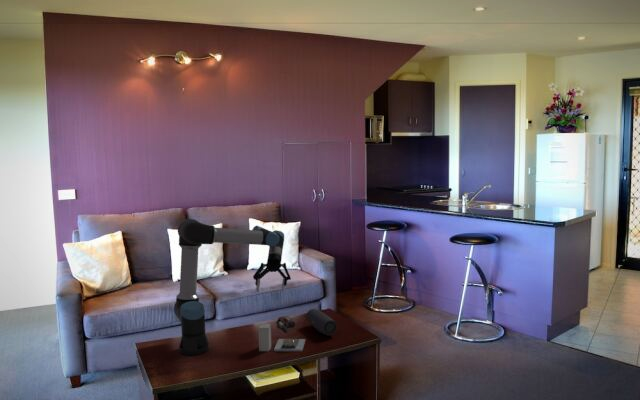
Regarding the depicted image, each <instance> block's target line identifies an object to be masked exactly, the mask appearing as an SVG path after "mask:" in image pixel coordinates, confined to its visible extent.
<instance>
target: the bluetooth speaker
mask: <svg viewBox="0 0 640 400" xmlns="http://www.w3.org/2000/svg"><path fill="white" fill-rule="evenodd" d="M305 319H306V320H307V322H308V324H310V325H311V326H312V327H313V328H315V330H316V331H318V332H319V333H320V334H322V335H326V336H333V335H334V334H335V333H336V332H337V329H338V326H337V325H338V324H337V322H336V321H335V320H334V319H333V318H331V317H330V316H329V315H327V314H326V313H325V312H322V311H320V310H318V309H316V308H311V309H309V310H308V311H307V313H306V316H305Z"/></svg>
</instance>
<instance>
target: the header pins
mask: <svg viewBox="0 0 640 400" xmlns="http://www.w3.org/2000/svg"><path fill="white" fill-rule="evenodd" d="M281 348H296V346H294V340H292V346H290V340H287V346H285V340H283V345H282V347H281Z"/></svg>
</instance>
